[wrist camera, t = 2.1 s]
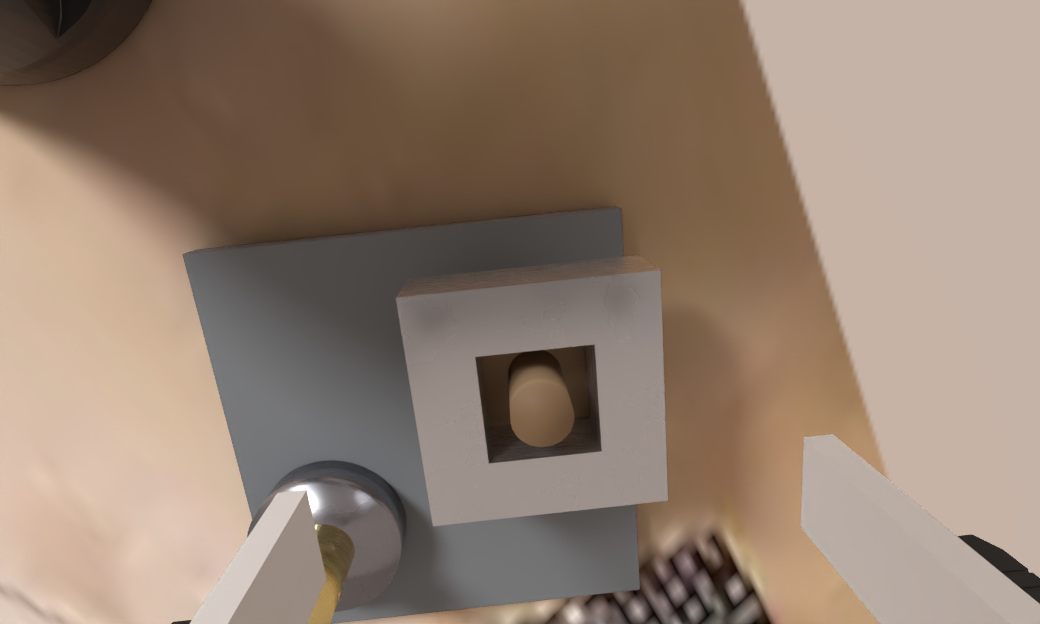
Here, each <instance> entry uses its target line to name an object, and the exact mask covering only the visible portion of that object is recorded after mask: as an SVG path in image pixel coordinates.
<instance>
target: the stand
mask: <svg viewBox="0 0 1040 624" xmlns="http://www.w3.org/2000/svg"><path fill="white" fill-rule="evenodd" d="M481 359H482V367H483V375H484V383H485V391H486V399H487V408H488V416H489V424H490V426H494V425H503V424H511V426H512V429H513V431H514V433H515V434H516V436H517V437H518V438H519V439H520V440H522V441H523V442H525V443H526V444H529V445H531V446H536V447H547V446H551V445H554V444H557V443H559V442H560V441H562V440H563V439H564V438H565V437H566V436H567V435H568V434H569V433H570V431H571V429H572V427H573V424H574V417H578V416H588V415H589V406H588V392H587V378H586V364H585V350H584V346H575V347H565V348H556V349H546V350H537V351H527V352H518V353H508V354H499V355H489V356H481Z"/></svg>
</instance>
